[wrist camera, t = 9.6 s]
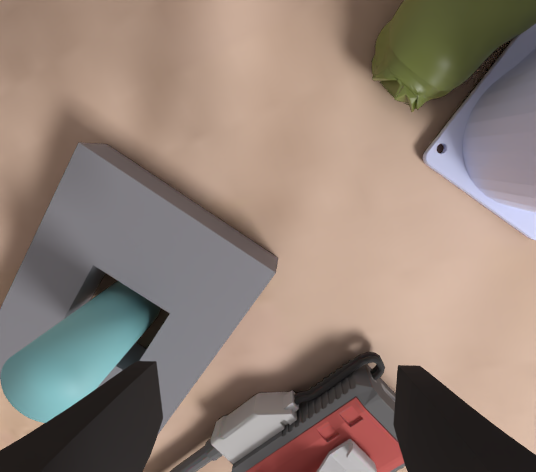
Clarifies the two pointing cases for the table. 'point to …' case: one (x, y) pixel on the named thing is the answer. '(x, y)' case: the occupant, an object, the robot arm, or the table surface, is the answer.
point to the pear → (443, 44)
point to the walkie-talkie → (311, 427)
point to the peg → (76, 353)
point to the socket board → (136, 267)
